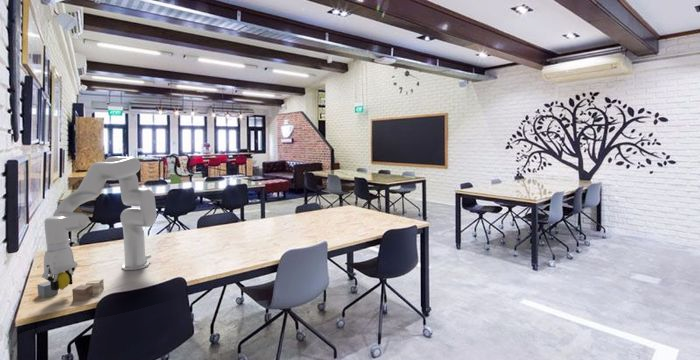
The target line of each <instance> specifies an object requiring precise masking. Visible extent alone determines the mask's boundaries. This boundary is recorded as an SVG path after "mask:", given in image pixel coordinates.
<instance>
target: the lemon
mask: <svg viewBox="0 0 700 360" xmlns="http://www.w3.org/2000/svg"><path fill="white" fill-rule="evenodd" d="M56 281H58V285H59V290H61V291H62V290H65V288H67V287H68V286H70V284H69V282H70V278H69V276H68V274H67V273H65V272H62V273H59V274H58V276H57V280H56Z"/></svg>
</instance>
